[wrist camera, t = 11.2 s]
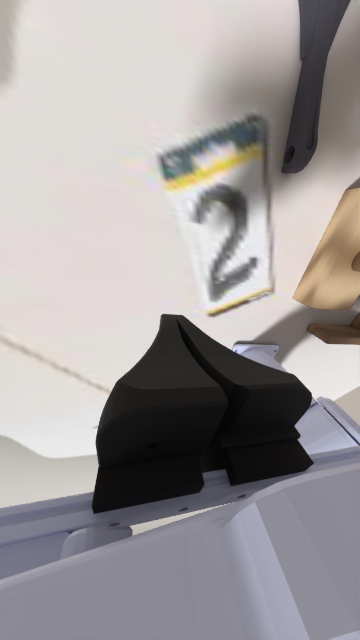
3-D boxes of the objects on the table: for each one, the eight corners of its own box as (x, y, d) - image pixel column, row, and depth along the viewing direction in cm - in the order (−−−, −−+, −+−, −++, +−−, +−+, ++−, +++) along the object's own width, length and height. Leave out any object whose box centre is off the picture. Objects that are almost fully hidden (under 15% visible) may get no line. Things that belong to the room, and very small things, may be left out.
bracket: (210, 178, 15) (223, 170, 13) (222, -236, 8) (256, -434, 5) (344, 173, 17) (376, 165, 15) (459, -163, 10) (561, -286, 7)
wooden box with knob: (324, 299, 25) (369, 319, 20) (290, 297, 23) (330, 317, 18) (382, 201, 19) (466, 194, 14) (342, 190, 18) (420, 177, 13)
